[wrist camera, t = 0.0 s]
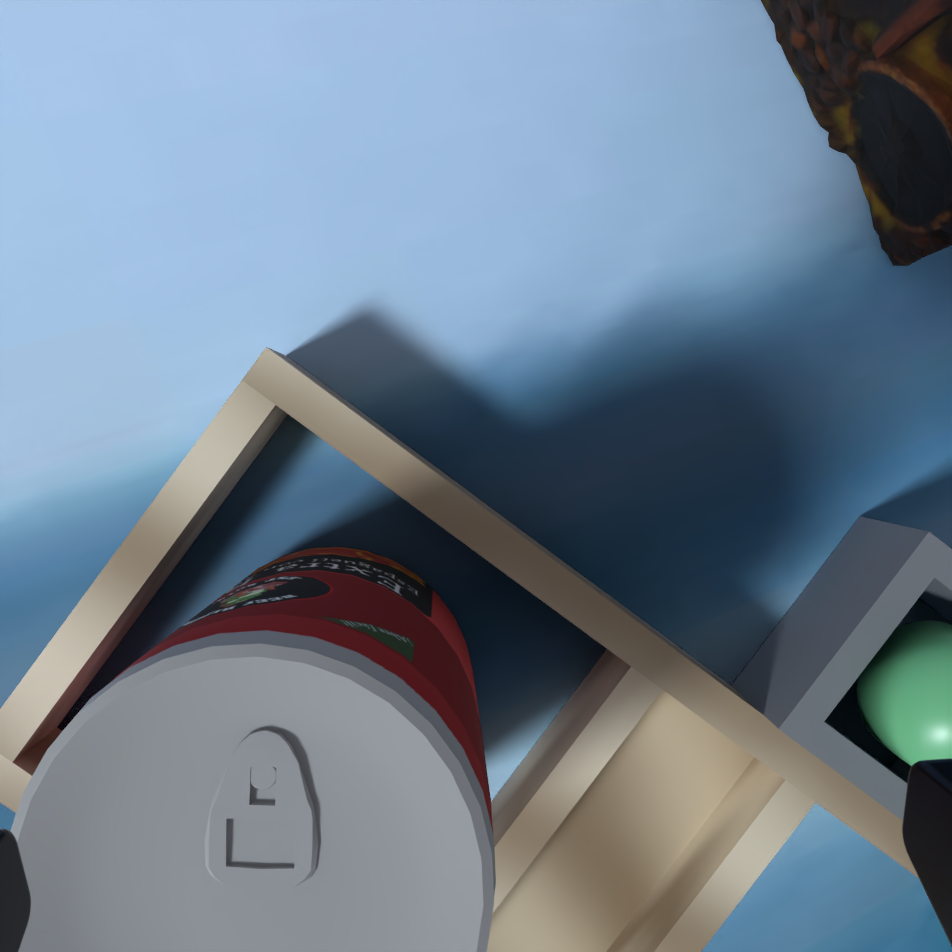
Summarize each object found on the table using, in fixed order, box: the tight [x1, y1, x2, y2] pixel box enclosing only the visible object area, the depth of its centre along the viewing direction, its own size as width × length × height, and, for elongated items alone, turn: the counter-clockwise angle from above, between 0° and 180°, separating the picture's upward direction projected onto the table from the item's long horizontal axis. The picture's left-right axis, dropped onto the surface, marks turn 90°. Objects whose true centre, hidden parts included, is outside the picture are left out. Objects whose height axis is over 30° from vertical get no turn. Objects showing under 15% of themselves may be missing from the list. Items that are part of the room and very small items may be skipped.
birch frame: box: [0, 347, 919, 952], centre depth 24 cm, size 13×30×2 cm, turn 53°
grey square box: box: [731, 516, 952, 821], centre depth 23 cm, size 6×6×4 cm
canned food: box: [10, 547, 496, 952], centre depth 19 cm, size 8×8×11 cm
